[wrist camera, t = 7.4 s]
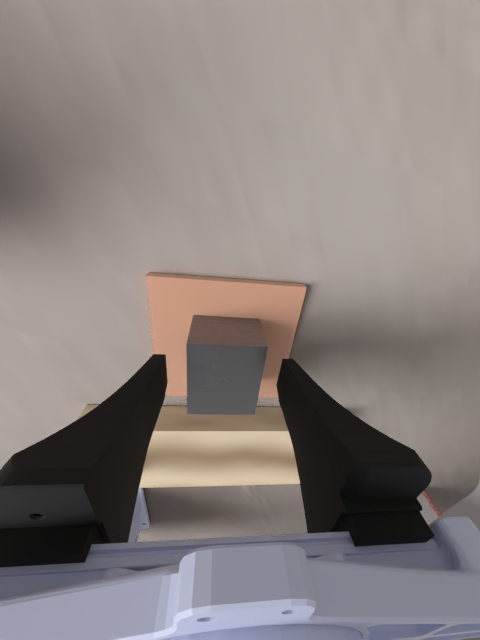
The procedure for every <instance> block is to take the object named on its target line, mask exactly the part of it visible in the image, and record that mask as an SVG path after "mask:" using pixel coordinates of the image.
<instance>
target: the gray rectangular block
mask: <svg viewBox="0 0 480 640" xmlns="http://www.w3.org/2000/svg"><path fill="white" fill-rule="evenodd" d="M186 349H187V414H213V415H255V411H256V405H257V400H258V395H259V390H260V385H261V380H262V375H263V370H264V365H265V360H266V355H267V349H268V346H267V343H266V339H265V336H264V333H263V329H262V326H261V323H260V319H256V318H239V317H222V316H204V315H193V318H192V322H191V327H190V331H189V335H188V339H187V344H186Z"/></svg>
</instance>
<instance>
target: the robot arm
mask: <svg viewBox="0 0 480 640" xmlns="http://www.w3.org/2000/svg"><path fill="white" fill-rule="evenodd" d="M167 383H168V380H167V366H166V354H154V355H152V356H151V358H150V359H149V360H148V361H147V362H146V363H145V364H144V365H143V366H142V367H141V368H140V369H139V370H138V371H137V372H136V373H135V374H134V375H133V376H132V377H131V378H130V379H129V380H128V381H127V382H126V383H125V384H124V385H123V386H122V387H120V388H119V389H118V390H117V391H116V392H115V393H114V394H112V395H111V396H110V397H109V398H107V399H106V400H105V401H104V402H102V403H101V404H100V405H98V406H97V407H96V408H94V409H93V410H91V411H90V412H88V413H87V414H85V415H84V416H82V417H81V418H79V419H78V420H76V421H75V422H73V423H72V424H70V425H68V426H67V427H65V428H63V429H61V430H60V431H58V432H56V433H54V434H53V435H51V436H49V437H47V438H45V439H44V440H42V441H40V442H38V443H36V444H34V445H32V446H30V447H28V448H26V449H24V450H22V451H20V452H18V453H16V454H14V455H13V456H12V457H11V458H10V459H9V460H8V462H7V463H6V464H5V465H4V466H3V467H2V469H1V470H0V640H458V639H466V638H473V637H480V531H479V530H478V529H477V528H476V526H475V525H474V524H473V522H472V521H471V520H470V518H469V517H466V516H456V517H441V518H438V519H435V520H434V521H432V522H431V523H430V524H429V526H428V524H427V522H426V521H425V519H424V518H423V516H422V514H421V513H420V511H422V510H423V509H422V506H421V504H420V503H419V501H418V499H417V497H418V496H419V495H420V494H421V493H422V492H423V491H424V490H425V489H426V487H427V486H428V485H429V484H430V482H431V478H432V475H431V472H430V470H429V469H428V468H427V466H426V465H425V464H424V462H423V461H422V460H421V458H420V457H419V456H418V454H417V453H416V452H415V451H414V450H413V449H411V448H409V447H407V446H405V445H403V444H401V443H399V442H397V441H395V440H394V439H392V438H390V437H388V436H386V435H385V434H383V433H381V432H379V431H378V430H376V429H374V428H373V427H371V426H370V425H368V424H366V423H365V422H363V421H362V420H361V419H359V418H358V417H356V416H355V415H353V414H352V413H350V412H349V411H348V410H346V409H345V408H344V407H343V406H341V405H340V404H339V403H338V402H336V401H335V400H334V399H333V398H332V397H330V396H329V395H328V394H327V393H326V392H325V391H324V390H323V389H322V388H321V387H320V386H318V385H317V384H316V383H315V382H314V381H313V380H312V379H311V378H310V377H309V375H308V374H307V373H306V372H305V371H304V370H303V369H302V368H301V367H300V366H299V365H298V364H297V363H296V362H295V361H294V360H293V359H282V363H281V368H280V372H279V376H278V380H277V384H276V386H277V392H278V397H279V402H280V406H281V409H282V412H283V415H284V419H285V422H286V425H287V428H288V431H289V435H290V438H291V441H292V445H293V450H294V454H295V459H296V464H297V469H298V475H299V480H300V486H301V492H302V498H303V504H304V510H305V517H306V524H307V530H308V533H306V534H287V535H267V536H247V537H228V538H208V539H188V540H169V541H149V542H137V541H138V536H139V532H140V530H146V529H149V527H150V521H149V516H148V511H147V506H146V501H145V496H144V491H143V488H139V485H140V481H141V476H142V472H143V467H144V463H145V459H146V455H147V451H148V447H149V443H150V440H151V437H152V434H153V431H154V428H155V425H156V422H157V419H158V416H159V413H160V410H161V407H162V404H163V401H164V398H165V393H166V388H167Z"/></svg>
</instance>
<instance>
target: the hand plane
mask: <svg viewBox="0 0 480 640" xmlns="http://www.w3.org/2000/svg"><path fill="white" fill-rule="evenodd" d="M97 406H98V405H86V407H85V409H84V410H83V412H82V413H81V415H80V416H79V418H81V417H82V416H84V415H85V414H87V413H88V412H90V411H91V410H93V409H94V408H96V407H97ZM79 418H78V419H79ZM271 484H300V480H299V475H298V469H297V464H296V459H295V454H294V450H293V445H292V441H291V438H290V435H289V431H288V428H287V425H286V422H285V419H284V415H283V412H282V409H281V407H256V411H255V415H213V414H187V406H162V407H161V410H160V413H159V416H158V419H157V422H156V425H155V428H154V431H153V434H152V437H151V440H150V443H149V447H148V451H147V455H146V459H145V463H144V467H143V472H142V476H141V481H140V485H139V488H156V487H195V486H233V485H271Z"/></svg>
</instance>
